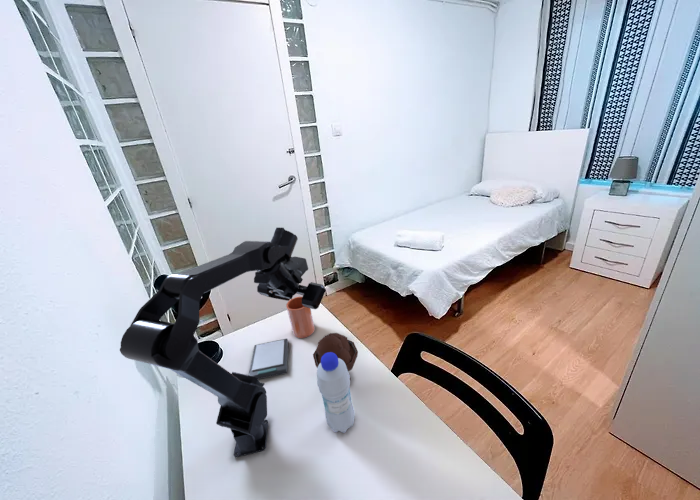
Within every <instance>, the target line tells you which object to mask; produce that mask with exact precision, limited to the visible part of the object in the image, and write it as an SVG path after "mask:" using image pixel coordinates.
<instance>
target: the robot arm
mask: <svg viewBox="0 0 700 500" xmlns="http://www.w3.org/2000/svg"><path fill="white" fill-rule="evenodd" d="M297 243H298V236H297V235H296V234H294V233H293V232H291V231H289V230H287V229H285V227H275V230H274V232H273V235H272V238H271V240H270V241H269V240H268V241H264V240H244V241H242V242H241V243H240V244H238V245H237V246H234V248H233V250H232V251H231V252H230V253H228V254H226V255H224V256H221V257H217V258H215V259H213V260H210V261H207V262H205V263H201V264H200V265H197V266H195V267H192V268H189V269H186V270H184V271H181V272H174V273H172V274H170V275H167V276H166V277H165V279H164V280H163V282H162V283H161V285H160V287H159V288H158V291H157V292H156V293H155V294H154V295H153V296H151V297H150V298H149V300H147V301H146V302H145V303H144V304H143V305H142V306H141V307H140V308H139V309H138V311H137V313H136V315H135V317H134V318H133V320H132V322H131V324H130V325H129V327H128V328H126V330H125V331H124V333H123V335H122V337H121V340H120V348H119V353H120V354H121V355H122V356H123V357H124V358H126V359H127V360H132V361H135V362H140V363H143V364H146V365H151V366H156V367H160V368H163V369H167V370H170V371H172V372H174V373H175V374H177V375H179V376H182V377H183V378H185V379H186V380H188V381H190V382H191V383H193V384H195V385H197V386H198V387H200V388H202V389H204V390H205V391H206V392H209V393H210V394H212V395H214V396H216V397H217V403H218V404H219V411H218V414H217V418H216V421H215V424H216V426H219V427H222V428H226V429H230V431H231V433H232V436H233V439H234V442H235V446H234V451H233V457H234V458H239V457H243V456H249V455H253V454H256V453H260V452H264V451H265V450H266V448H267V440H268V439H267V438H268V429H269V420H268V419H266V418H267V417H268V397H267V390H266V388H265V387H264V386H265V382H261V381H260V379H257V378H256V377H254V376H249V374H245V373H240V372H236V371H232V372H230V371H229V370H227V369H225V368H224V367H223V366H222V365H220V364H219V363H218V362H216V361H214V360H213V359H211V358H210V357H209V356H208V355H206V354H205V353H203V352H202V351H201V350H200V348H199V342H198V339H197V337H196V336H195V333H196V331H197V329H198V327H199V324H200V303H201V300H202V298H203V295H204V294H205V293H208V292H210V291H212V290H214V289H216V288H218V287H219V286H222V285H224V284H225V283H228V282H229V281H232V280H234V279H236V278H237V277H240V276H242V275H244V274H246V273H249V272H254V278H253V283H254V284H257V286H256V291H257V293H259V295H261V296H264V297H267V298H271V299H276V300H282V301H287V302H288V301H289V300H291V299H293V298H294V296H295V295H296V294H297V295H299V296H300V295H301V297H302V302H301V303H302V305H304V307H307V308H311V310H317V309H319V307H320V305H321V302H322V300H323V298H324V296H325V294H326V291H327V290H326V287H325V286H324V285H323V284H322V283H317V282H313V281H312V282H309V283H308V284H307V285H302V282H303V280H304V279H303V278H302V277H303V276H304V274H305V273H306V272H307V271H309V265H308V262H307V259H306V258H304V257H301V256H292V255H293V253H294V250H295V247H296V245H297ZM176 303H178V315H177V317H176V320H175V322H169V321H164V320H161V319H162V317H163V316H164V315H165V314H166V313H167V312H168V311H169V310H171V308H173V306H174V305H175V304H176Z"/></svg>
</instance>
